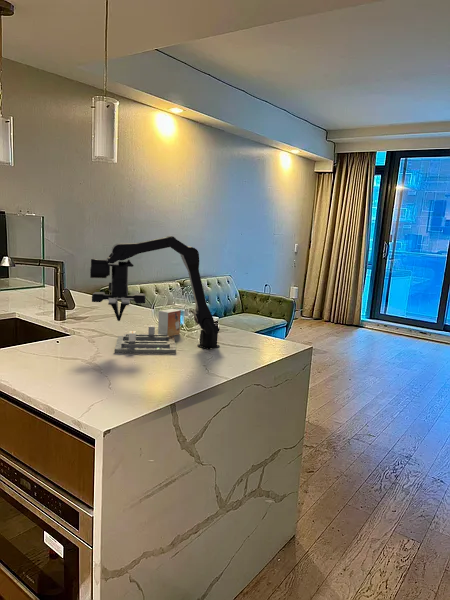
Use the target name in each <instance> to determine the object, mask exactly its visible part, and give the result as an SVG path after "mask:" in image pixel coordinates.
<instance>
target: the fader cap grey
mask: <svg viewBox="0 0 450 600" xmlns="http://www.w3.org/2000/svg"><path fill="white" fill-rule="evenodd" d="M155 328H156V327H155V324H148V330H147V331H148V333H147V334H149V336H154V335H155V330H156V329H155Z"/></svg>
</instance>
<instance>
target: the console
mask: <svg viewBox="0 0 450 600" xmlns="http://www.w3.org/2000/svg"><path fill="white" fill-rule="evenodd" d="M113 352H114V354H139V355H140V354H148V355H149V354H150V355H151V354H152V355H153V354H154V355H155V354H157V355H158V354H159V355H161V354H162V355H171V354H172V355H176V354H177V348H176V341H175V336H169V335H163V334H158V333H157V334H155V335H154V336H149V334H148V333H147V334H146V333H143V334H142V333H136V341H135V343H130V341H129V333H123V335H118V336H117V339H116V343H115V347H114V351H113Z"/></svg>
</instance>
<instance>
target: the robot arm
mask: <svg viewBox="0 0 450 600" xmlns="http://www.w3.org/2000/svg"><path fill="white" fill-rule="evenodd" d="M111 248H112V249H111V253H110V254H109V255H108V256H107V258H106V259H97V258H90V267H89V268H90V269H89V270H90V271H89V272H90V273H89V274H90V275H89V277H90V279H107V277H109V276H111V282H109V283H108V292H110V293H111V294H106V293H105V291H94V292H93V293H92V295H91V302H92V303H102V302H103V301H104V300H105V301H108V304H107V305H109V306H111V308H112V310H113V311H114V315H115V318H116V321H117V322H121V319H122V315H123V313H124V311H125V309H126V307H127V306H130V303H131V301H132V302H133V301H134V303H136V304H146V297H147V296H146V294H145V292H144V293H138V292H135V293H134V294H133V295H132V294H131V295H129V286H128V284H129V278H128V277H129V267H131V268H133V267H134V264H133V263H132V262H131V260H130V258H132V257H134V256H135V257H136V256H137V255H139V254H144V253H147V252H154V251H157V250H158V251H159V250H162V249H166V248H171V249H172V250H174V251H175V252H176V253H178V254H180V258H181V260H182V263H183V264H184V266H185V269H186V270H187V273H188V274H187V275H188V277H189V282H190V286H191V290H192V291H191V292H192V294H193V295H192V296H193V298H194V303H195V310H192V315H193V321H194V322H195V323H196V324H197V325H198V326H199V327H200V328H201V329H200V334H199V343H198V344H197V347H200V348H204V349H206V350H212V349H217V348H220V346H221V345H219V344H218V339H219V338H218V334H219V332H220V327H219V326H218V325H216V324H215V319H214V316H213V315H212V312H211V310H210V309H209V306H208V304H207V301H206V300H207V299H206V296H205V292H204V287H203V283H202V278H201V274H200V269H199V268H200V253H199V250H198V249H197V248H195V247H193V246H191V245H186V244H185V243H183V242H182V241H180V240H178V239H177V238H176V237H175V236H173V235H172V236H171V235H167V236H165V237H159V238H155V239H151V240H145V241H140V242H118V243H116V244H114V245H113V246H112V247H111ZM124 260H126V261H124ZM116 262H117V263H116ZM110 273H111V275H110ZM119 301H121V302H120V306H119Z"/></svg>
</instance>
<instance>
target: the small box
mask: <svg viewBox="0 0 450 600" xmlns="http://www.w3.org/2000/svg"><path fill="white" fill-rule="evenodd" d="M181 311H182V310H180V309H175V308H167V309H163V310H158V318H157V319H158V323H157V325H158V327H157V334H163V335H169V337H174V336H177V335H181V313H182V312H181Z"/></svg>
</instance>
